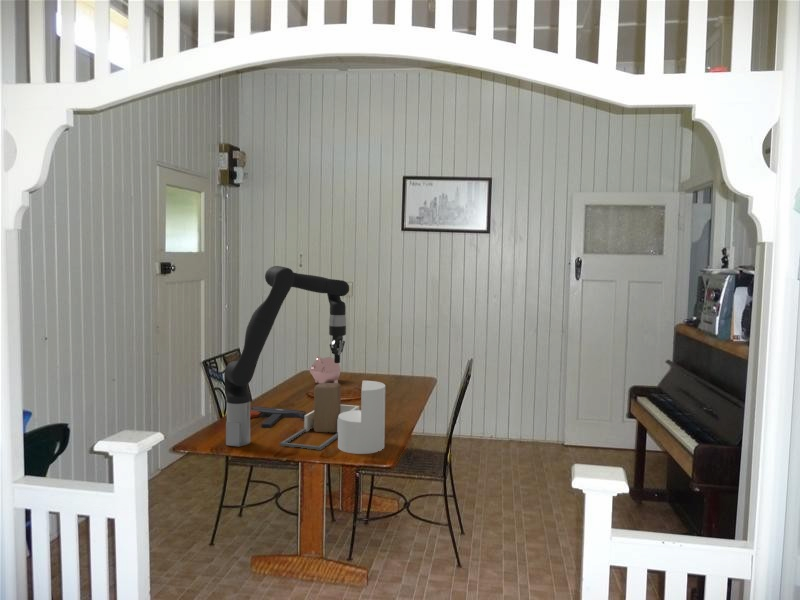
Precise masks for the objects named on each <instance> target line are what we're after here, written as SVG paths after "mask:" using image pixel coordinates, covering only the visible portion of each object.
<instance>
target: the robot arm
mask: <svg viewBox="0 0 800 600" xmlns="http://www.w3.org/2000/svg"><path fill="white" fill-rule="evenodd" d="M264 281H265V282H266V284H267V285H268V286H269V287H271V288H270V292H269V293H268V296H267V297H266V298H265V300H264V301H262V303H261V304H260V305H259V306H258V307H257V308H256V309H255V310H254V312H253V314H252V315H251V317H250V320H249V322H248V324H247V327H246V330H245V335H244V345H243V348H242V352H241V355H240V356H239V357H238V358H239V359H238V360H233V361H230V362H229V363H228V364H227V365H226V366H225V369H224V377H223V378H224V380H223V381H224V393H225V396H226V422H225V446H231V447H239V448H240V447H243V446H247V445H249V444H251V419H250V410H251V394H250V392H249V388H248V385H249V384H250V382H251V381H252V380H253V377H254V374H255V371H256V368H257V364H258V361H259V358H260V355H261V353H262V351H263V349H264V346H265V344H266V342H267V339H268V338H269V335H270V333H271V331H272V329H273V326H274V323H275V321H276V319H277V317H278V315H279V312H280V309H281V308H282V305H283V304H284V302H285V300H286V298H287V296H288V294H289V292H290V291H291V289H292V288H296V289H300V290H304V291H308V292H312V293H318V294H327V299H328V302H329V318H328V321H329V322H328V329H329V331H328V334H329V336H331V337H332V338H331V343H330V344H329V348H330V351H331V354H332V355H333V356H334V357H333V358H334V362H335V363H341V355H342V353H343V351H344V347H345V343H346V340H344V336H346V335H347V316H346V311H347V310H346V309H347V307H346V303H345V302H344V301H342V299H341V297H344V296H346V295H348V293H349V291H350V285H349V284H348V282H347V281H345V280H341V279H334V278H332V279H331V278H328V277H323V276H319V275H314V274H304V273H298V272H294V271H293V270H292V269H291V268H290V267H285V266H281V265H273V266H271V267H269V268H268V269H267V270H266V271H265V274H264Z"/></svg>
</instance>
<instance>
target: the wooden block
mask: <svg viewBox="0 0 800 600" xmlns="http://www.w3.org/2000/svg"><path fill="white" fill-rule="evenodd" d="M341 387H342V386H341V383H339V382H338V383H332V382H330V383H317V384H316V385H315V386H314V388H313V394H314V395H313V397H314V398H313V410H314V428H313V431H314V432H315V433H328V432H329V433H331V434H332V433H333V434H336V433H337V419H338V416H339V414H340V411H341V402H342V401H341V399H342V396H341V395H342V394H341V392H342V391H341V389H342V388H341Z"/></svg>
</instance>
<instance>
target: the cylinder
mask: <svg viewBox="0 0 800 600" xmlns="http://www.w3.org/2000/svg"><path fill="white" fill-rule="evenodd" d="M361 383H362V384H361V389H360V390H361V400H360V401H361V403H360V404H361V405H360V408H361V409H359V410H354V411H347V412H343V413H341V414H339V416H338V438H337V448H338V450H339V451H341V452H344V453H346V454H347V453H348V454H355V455H356V454H357V455H366V454H367V455H368V454H373V453H375V454H376V453H378V451H379V452H381V451H383V450H384V449H385V438H386V437H385V433H386V432H385V431H386V430H385V429H386V428H385V424H386V384H385V383H383V382H380V381H375V380H362V382H361ZM382 449H383V450H382Z"/></svg>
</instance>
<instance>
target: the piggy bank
mask: <svg viewBox="0 0 800 600" xmlns="http://www.w3.org/2000/svg"><path fill="white" fill-rule="evenodd" d="M309 373H310V374H311V375H312V377H313V379H314V383H316V384H319V383H339V381H338V380H339V377H340V374H341V365H340V364H339V363H335V362H334V357H329V356H328V357H320V356H318V355H316V356H315V361H314V363H313V364H312V365H311V367H309Z"/></svg>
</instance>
